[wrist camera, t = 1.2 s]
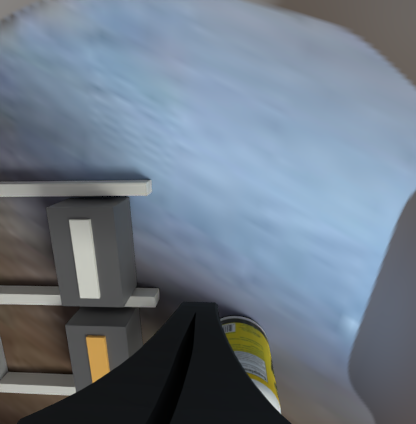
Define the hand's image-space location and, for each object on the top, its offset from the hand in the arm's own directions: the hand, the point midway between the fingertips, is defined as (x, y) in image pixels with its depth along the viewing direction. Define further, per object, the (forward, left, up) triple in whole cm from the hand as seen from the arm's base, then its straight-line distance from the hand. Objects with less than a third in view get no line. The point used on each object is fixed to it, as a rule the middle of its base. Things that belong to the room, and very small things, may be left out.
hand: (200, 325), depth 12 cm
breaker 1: (0, +8, -9) cm, 12 cm away
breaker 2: (-8, +8, -9) cm, 14 cm away
